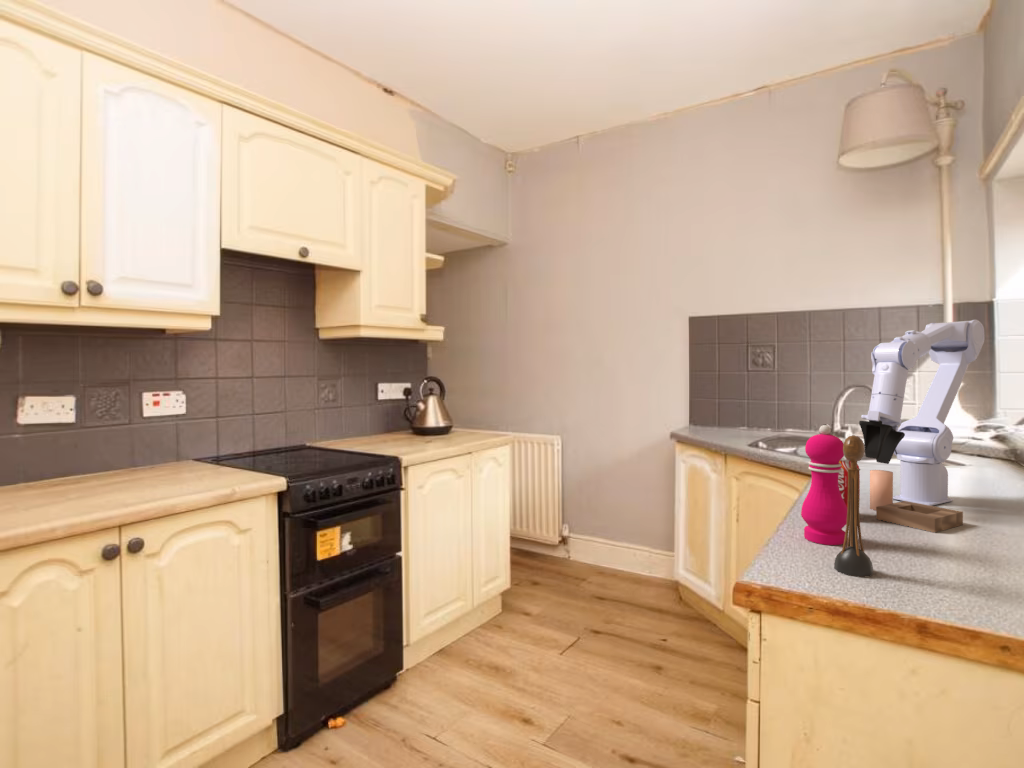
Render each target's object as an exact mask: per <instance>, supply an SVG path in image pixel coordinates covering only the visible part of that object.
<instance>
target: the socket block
mask: <svg viewBox="0 0 1024 768" xmlns="http://www.w3.org/2000/svg"><path fill="white" fill-rule="evenodd" d="M875 512H876V513H875V515H876V518H875V519H878V521H881V520H883V521H882V522H885V521H887V522H886V523H890V522H892V523H891V524H894V523H896V525H899V524H900V525H899V526H903V525H904V526H905V527H907V526H909V527H908V528H912V527H913V528H912V529H916V528H918V529H917V530H921V529H922V530H921V531H925V530H926V532H930V531H931V532H930V533H934V532H935V533H939V532H942V531H946V530H949V529H954V528H956V527H960V525H961V526H963V525H964V511H961V510H955V509H950V508H946V507H945V508H944V507H939V506H936V505H933V506H929V505H924V504H919V503H913V502H908V501H898V502H893V503H892V504H888V505H883V506H878V507H876V511H875ZM938 531H939V532H938Z"/></svg>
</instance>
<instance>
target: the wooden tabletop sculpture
mask: <svg viewBox="0 0 1024 768" xmlns="http://www.w3.org/2000/svg"><path fill="white" fill-rule="evenodd" d="M843 453H844V456H845V458H846V459H847V460H849V461H851V468H847V469H848V507H847V524H846V525H845V539H844V544H842V550H841V551H839V553H837V555H836V557H835V559H834V562H833V568H834V569H835V571H837V572H838V573H840V572H841V574H843V573H844V575H845V576H850V575H851V576H850V577H857V576H859V577H858V578H865V576H869V577H871V576H873V575H874V566H873V562H872V561H871V558H870V557H869V555H867V554H866V552H865V549H864V544H863V539H862V531H861V518H860V500H859V474H860V471H861V468H859V469H858V468H857V464H858V462H860V461H861V460H862V459H863V457H864V456H865V446H864V440H863V439H862V438H861V437H860V436H859V435H849V436H848V437H846V438H845V439H844V442H843ZM859 547H860V548H859Z"/></svg>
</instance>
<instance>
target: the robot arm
mask: <svg viewBox="0 0 1024 768" xmlns="http://www.w3.org/2000/svg"><path fill="white" fill-rule="evenodd" d="M984 343H985V327H984V325H983V323H982V322H981V321H980V320H978V319H972V320H964V321H963V320H962V321H952V322H951V321H949V322H930V323H928V324H926V325H925V328H924V330H922V331H916V330H915V329H913V330H907V331H905V332H904V335H902V336H896V337H895V338H893V340H891V341H890V342H881V343H879V344H878V345H876V346H874V347H873V350H872V351H871V353H870V354H871V355H870V357H871V360H870V361H871V363H872V369H871V371H872V375H874V376H873V382H872V388H871V395H870V401H869V407H868V411H867V414H861V419H863V420H859V422H858V424H859V427H860V429H861V430H860V431H861V433H862V436H863V443H864V448H865V451H864V456H865V458H869V459H875V460H876V463H880V464H886V465H889V463H890V462H891V460H892V458H893V455H895V457H896V460H897V461H898V460H899V463H900V465H899V466H900V467H899V468H900V469H899V472H900V473H899V474H900V475H899V478H900V480H899V481H900V482H899V489H900V490H899V494H898V495H893V500H897V501H900V502H902V501H908V502H913V503H919V504H924V505H929V506H936V505H941V504H945V503H949V502H953V501H954V500H953V498H949V473H948V469H947V467H946V466H945V465H944V464H943V463H945V461H946V460H948V459H949V457H950V456H951V454H952V448H953V441H954V434H953V433H952V430H951V429H950V428H949V427H948V425H946V424H945V421H946V419H947V417H948V415H949V412H950V410H951V408H952V406H953V403H954V401H955V400H956V399H955V398H956V396H957V393H958V392H959V389H960V387H961V385H962V382H963V381H964V377H965V375H966V374H967V371H968V368H969V366H970V364H971V363H973V362H975V361H976V360H977V358H978V357H979V355H980V353H981V351H982V347H983V346H984ZM927 354H928V355H929V358H930V361H932V362H934V363H936V364H938V367H937V370H936V372H935V374H934V377H933V379H932V380H931V384H930V386H929V388H928V389H927V392H926V394H925V397H924V398H923V401H922V402H921V405H920V407H919V410H918V412H917V414H916V416H914V417H912V418H910V419H907V420H906V421H905V420H904V421H903V420H902V419H901V418H902V412H903V407H904V399H905V392H906V387H907V382H908V381H907V380H908V374H909V369H914V367H915V366H916V363H917V361H918V360H919V359H920V358H922V357H924V356H926V355H927ZM902 421H903V422H902Z"/></svg>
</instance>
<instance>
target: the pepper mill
mask: <svg viewBox="0 0 1024 768" xmlns="http://www.w3.org/2000/svg"><path fill="white" fill-rule="evenodd" d="M818 432H819V434H815V435H812V436H811V437H809V438H808V439H807V440H806V444H805V447H804V448H805V449H804V450H805V451H804V452H805V454H806V455H807V457H808V458H809V459H810V460H809V461H808V470H810V473H811V481H810V488H809V490H808V492H807V495H806V496H805V498H804V500H803V503H802V505H801V512H800V515H801V518H802V519H803V521H804V522H805V523H806V524H807V525H806V526H804V528H803V537H804V539H806V541H808V542H812V543H814V542H815V544H818V545H819V544H820V545H823V546H824V545H825V546H826V545H827V546H842V545H843V544H844V539H845V532H846V530H843V528H844V527H846V524H847V506H846V504H845V502H844V500H843V498H842V496H841V493H840V490H839V485H838V476H839V472H841V471H842V470H841V467H840V466H842V464H841V463H839V461H840V460H841V459H842V458H843V456H844V453H843V444H844V442H843V440H841V438H839V437H838V436H836V435H833V434H831V432H832V429H831V427H830V426H829V425H826V424H823V425H820V427H819V431H818Z"/></svg>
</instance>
